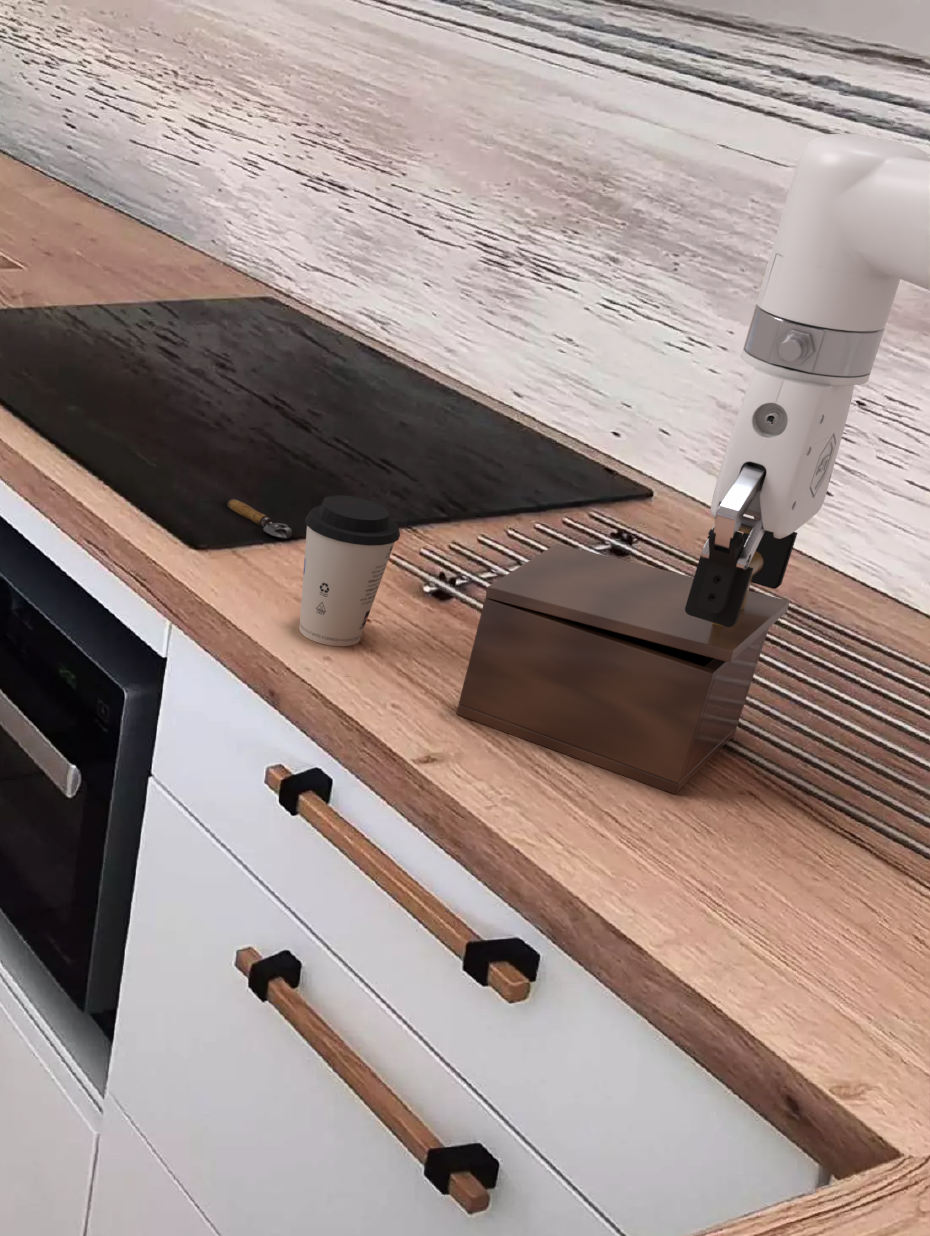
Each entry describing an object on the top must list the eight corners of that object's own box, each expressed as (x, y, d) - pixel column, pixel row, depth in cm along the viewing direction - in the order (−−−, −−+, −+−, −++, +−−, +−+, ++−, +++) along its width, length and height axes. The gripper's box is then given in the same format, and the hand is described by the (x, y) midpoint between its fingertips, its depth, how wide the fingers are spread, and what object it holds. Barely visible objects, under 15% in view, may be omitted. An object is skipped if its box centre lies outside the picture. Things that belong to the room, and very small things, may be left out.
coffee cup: (395, 648, 148) (424, 522, 143) (319, 657, 145) (346, 528, 140) (339, 611, 153) (365, 488, 149) (265, 619, 150) (289, 494, 146)
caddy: (733, 736, 140) (770, 622, 136) (675, 794, 130) (713, 673, 126) (524, 664, 148) (553, 554, 143) (455, 714, 138) (484, 598, 134)
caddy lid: (787, 611, 135) (804, 544, 133) (730, 662, 125) (747, 591, 123) (554, 553, 143) (566, 489, 141) (485, 597, 134) (497, 530, 132)
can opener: (224, 510, 173) (226, 497, 172) (248, 510, 174) (250, 497, 173) (277, 543, 165) (279, 529, 165) (301, 542, 166) (303, 529, 166)
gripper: (835, 384, 114) (750, 654, 122) (907, 337, 127) (826, 585, 135) (706, 353, 118) (632, 617, 126) (789, 310, 131) (717, 553, 139)
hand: (732, 600), depth 130 cm, fingers open, 9 cm apart
